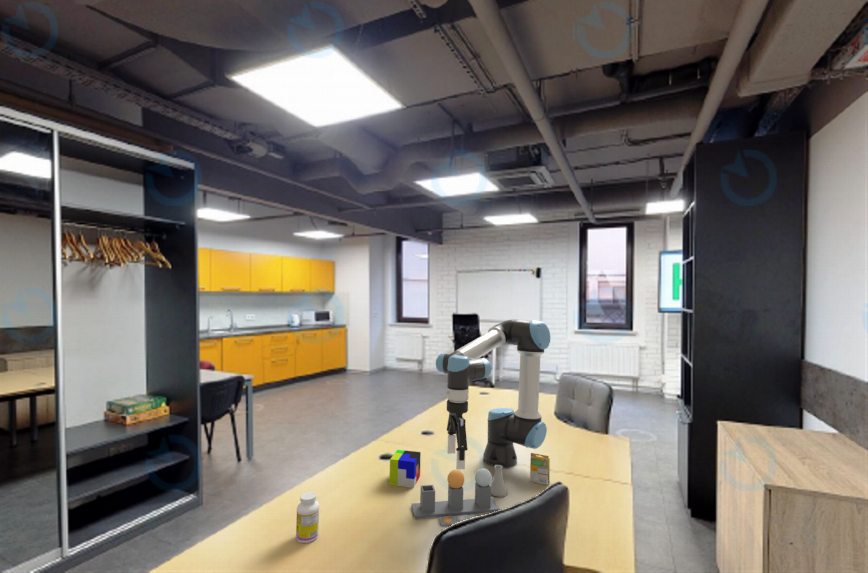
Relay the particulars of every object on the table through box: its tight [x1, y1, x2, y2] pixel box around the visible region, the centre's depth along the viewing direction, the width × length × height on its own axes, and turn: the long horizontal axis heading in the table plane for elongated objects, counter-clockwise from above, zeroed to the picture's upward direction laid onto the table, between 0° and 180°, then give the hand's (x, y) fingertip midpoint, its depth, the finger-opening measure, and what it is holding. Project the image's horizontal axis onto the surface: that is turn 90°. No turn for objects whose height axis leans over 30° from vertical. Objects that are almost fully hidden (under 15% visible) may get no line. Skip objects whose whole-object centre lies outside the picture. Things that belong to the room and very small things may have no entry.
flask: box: [490, 465, 508, 498], centre depth 154 cm, size 7×7×10 cm
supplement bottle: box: [295, 491, 320, 544], centre depth 124 cm, size 7×7×13 cm
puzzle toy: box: [388, 449, 421, 489], centre depth 162 cm, size 10×10×10 cm
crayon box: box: [529, 452, 551, 486], centre depth 163 cm, size 7×3×12 cm, turn 65°
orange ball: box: [446, 469, 465, 489], centre depth 142 cm, size 6×6×6 cm
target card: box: [438, 514, 481, 528], centre depth 134 cm, size 14×4×1 cm, turn 101°
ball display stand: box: [411, 481, 501, 520], centre depth 142 cm, size 30×8×8 cm, turn 101°
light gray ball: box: [474, 467, 493, 487], centre depth 143 cm, size 6×6×6 cm
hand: (455, 460), depth 141 cm, fingers open, 13 cm apart
